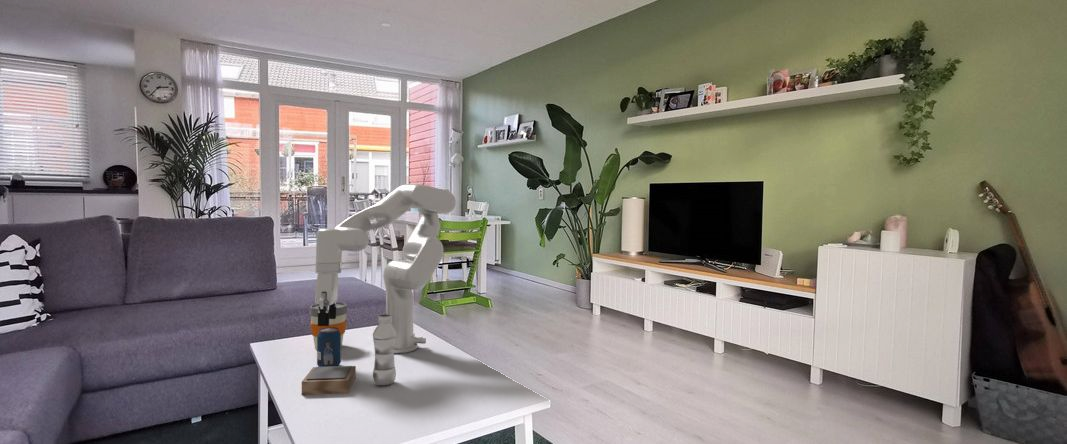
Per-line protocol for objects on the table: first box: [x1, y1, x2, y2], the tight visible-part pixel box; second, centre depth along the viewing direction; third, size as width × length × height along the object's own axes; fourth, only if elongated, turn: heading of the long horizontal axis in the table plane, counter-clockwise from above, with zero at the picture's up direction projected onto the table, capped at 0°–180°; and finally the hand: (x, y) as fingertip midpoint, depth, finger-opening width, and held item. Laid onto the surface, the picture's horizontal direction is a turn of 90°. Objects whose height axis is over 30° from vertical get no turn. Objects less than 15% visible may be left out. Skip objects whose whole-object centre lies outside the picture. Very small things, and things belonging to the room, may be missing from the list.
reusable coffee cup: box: [308, 301, 348, 351], centre depth 183 cm, size 13×13×15 cm
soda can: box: [316, 327, 342, 367], centre depth 162 cm, size 7×7×12 cm
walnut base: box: [301, 365, 357, 396], centre depth 146 cm, size 12×12×4 cm
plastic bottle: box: [372, 313, 397, 386], centre depth 149 cm, size 6×7×20 cm
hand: (327, 322), depth 161 cm, fingers open, 9 cm apart
